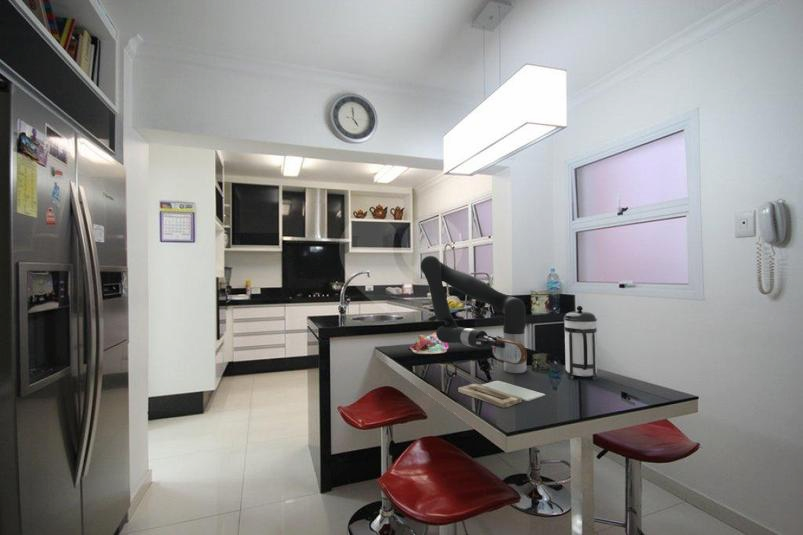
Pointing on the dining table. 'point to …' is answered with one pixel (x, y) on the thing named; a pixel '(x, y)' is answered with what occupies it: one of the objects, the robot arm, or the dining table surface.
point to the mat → (514, 390)
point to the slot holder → (504, 403)
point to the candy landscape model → (429, 345)
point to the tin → (510, 352)
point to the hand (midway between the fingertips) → (506, 344)
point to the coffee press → (580, 344)
